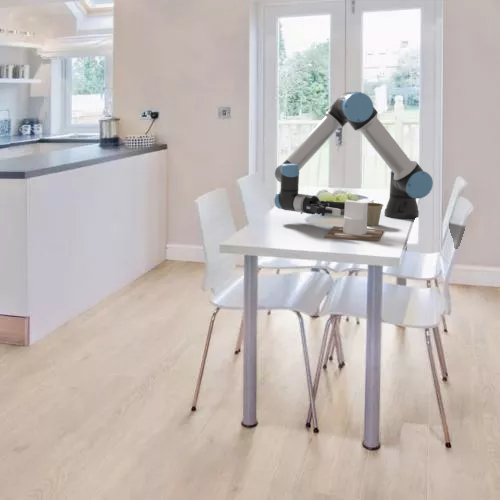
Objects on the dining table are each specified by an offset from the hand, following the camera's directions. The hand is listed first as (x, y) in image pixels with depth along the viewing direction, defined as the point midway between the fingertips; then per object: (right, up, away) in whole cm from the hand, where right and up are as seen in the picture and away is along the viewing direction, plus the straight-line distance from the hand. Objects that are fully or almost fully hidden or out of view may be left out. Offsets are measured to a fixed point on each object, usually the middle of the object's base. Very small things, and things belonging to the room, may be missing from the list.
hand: (350, 210), depth 244 cm
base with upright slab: (+2, -9, +1) cm, 9 cm away
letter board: (+2, -9, +1) cm, 9 cm away
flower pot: (+12, -5, +21) cm, 24 cm away
